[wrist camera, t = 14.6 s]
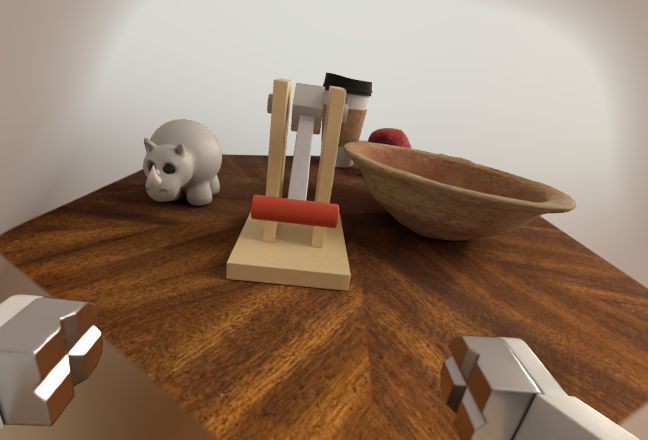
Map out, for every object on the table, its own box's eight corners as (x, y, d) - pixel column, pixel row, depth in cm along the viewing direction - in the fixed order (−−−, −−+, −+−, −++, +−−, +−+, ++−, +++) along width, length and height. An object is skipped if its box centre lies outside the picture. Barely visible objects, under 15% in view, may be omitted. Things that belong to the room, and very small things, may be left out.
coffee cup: (313, 155, 67) (323, 72, 61) (356, 160, 68) (370, 79, 62) (313, 165, 59) (325, 72, 54) (361, 171, 60) (378, 80, 54)
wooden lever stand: (347, 291, 26) (384, 97, 20) (226, 279, 25) (231, 75, 20) (338, 225, 37) (360, 89, 31) (253, 216, 36) (261, 74, 31)
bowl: (605, 286, 32) (648, 207, 29) (363, 280, 27) (383, 185, 24) (469, 198, 53) (485, 147, 50) (319, 186, 49) (326, 129, 45)
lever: (333, 237, 21) (340, 213, 19) (251, 228, 21) (249, 203, 19) (338, 115, 28) (343, 88, 26) (277, 106, 28) (277, 79, 26)
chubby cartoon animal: (110, 224, 30) (99, 126, 27) (168, 184, 41) (165, 111, 38) (193, 234, 31) (192, 138, 27) (228, 192, 42) (230, 120, 38)
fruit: (410, 177, 61) (421, 131, 58) (399, 186, 55) (411, 135, 52) (369, 167, 64) (378, 123, 61) (354, 174, 58) (363, 126, 55)
